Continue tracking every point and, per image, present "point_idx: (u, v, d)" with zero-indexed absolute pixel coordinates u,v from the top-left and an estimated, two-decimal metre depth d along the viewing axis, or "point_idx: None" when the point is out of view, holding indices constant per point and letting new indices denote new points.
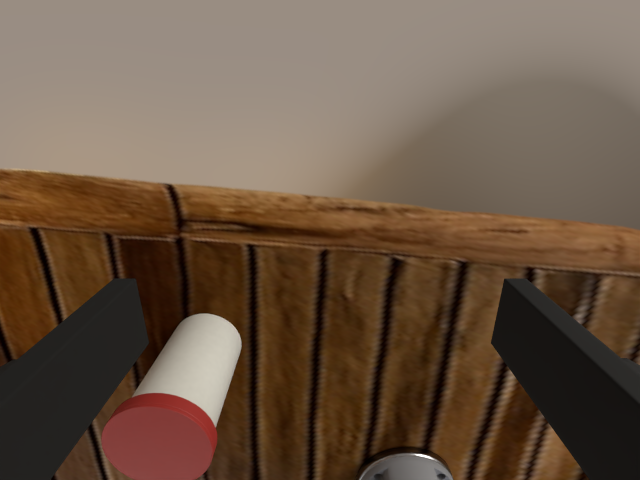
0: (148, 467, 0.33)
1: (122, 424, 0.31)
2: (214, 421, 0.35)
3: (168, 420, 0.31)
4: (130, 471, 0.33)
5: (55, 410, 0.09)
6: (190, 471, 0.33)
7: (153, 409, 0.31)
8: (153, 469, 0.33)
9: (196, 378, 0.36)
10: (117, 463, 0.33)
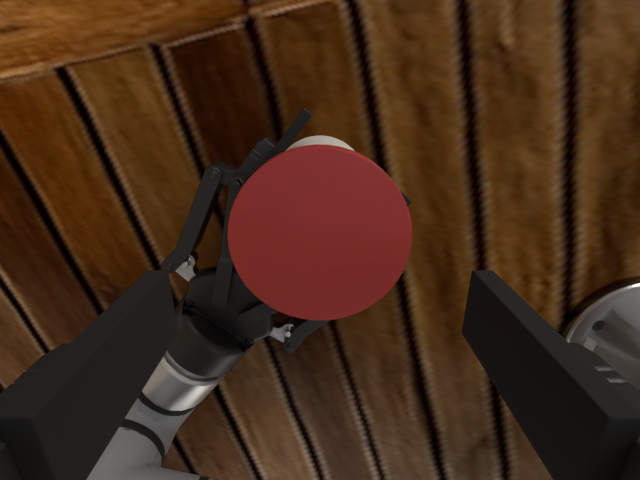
0: (311, 286, 0.20)
1: (256, 205, 0.19)
2: None
3: (329, 173, 0.18)
4: (284, 301, 0.21)
5: (106, 390, 0.09)
6: (379, 276, 0.20)
7: (301, 156, 0.18)
8: (319, 288, 0.20)
9: None
10: (262, 290, 0.20)
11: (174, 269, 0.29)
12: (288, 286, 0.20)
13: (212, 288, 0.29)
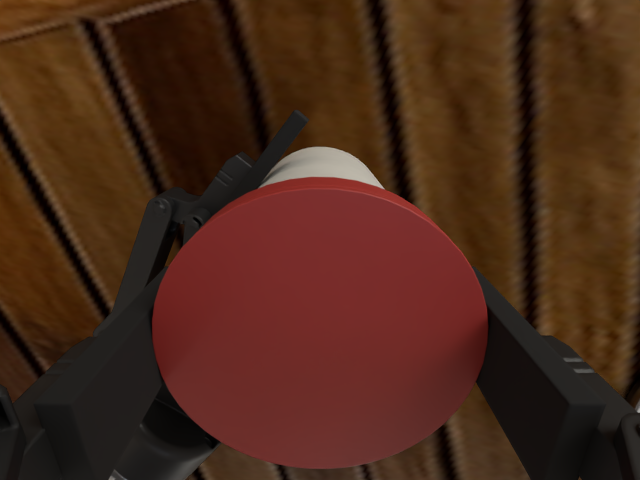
0: (305, 419, 0.12)
1: (201, 291, 0.10)
2: None
3: (338, 236, 0.09)
4: (259, 442, 0.12)
5: (132, 380, 0.09)
6: (424, 406, 0.11)
7: (283, 204, 0.09)
8: (319, 422, 0.12)
9: None
10: (219, 426, 0.12)
11: None
12: (265, 420, 0.12)
13: None
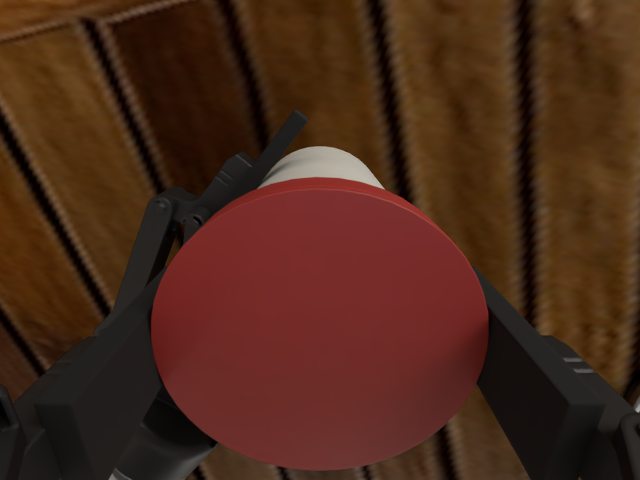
0: (407, 368, 0.11)
1: (254, 434, 0.12)
2: None
3: (193, 337, 0.10)
4: (433, 408, 0.11)
5: (132, 380, 0.09)
6: (402, 251, 0.09)
7: (171, 374, 0.11)
8: (414, 355, 0.11)
9: None
10: (406, 437, 0.12)
11: None
12: (403, 402, 0.11)
13: None
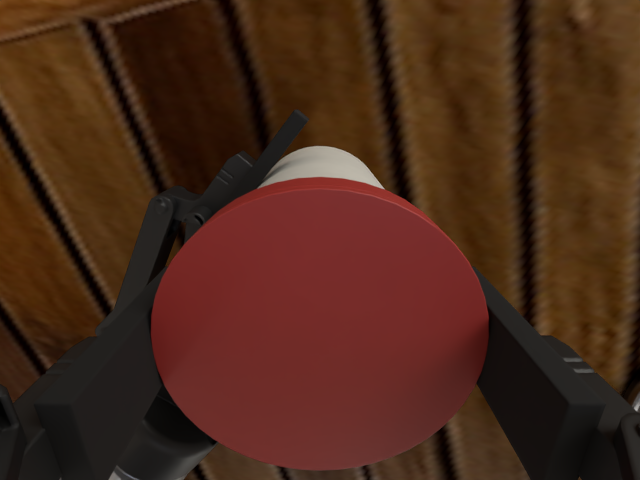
0: (343, 273, 0.10)
1: (419, 410, 0.11)
2: None
3: (299, 443, 0.12)
4: (405, 241, 0.09)
5: (132, 380, 0.09)
6: (202, 285, 0.10)
7: (339, 461, 0.12)
8: (325, 268, 0.10)
9: None
10: (447, 269, 0.10)
11: None
12: (390, 275, 0.10)
13: None
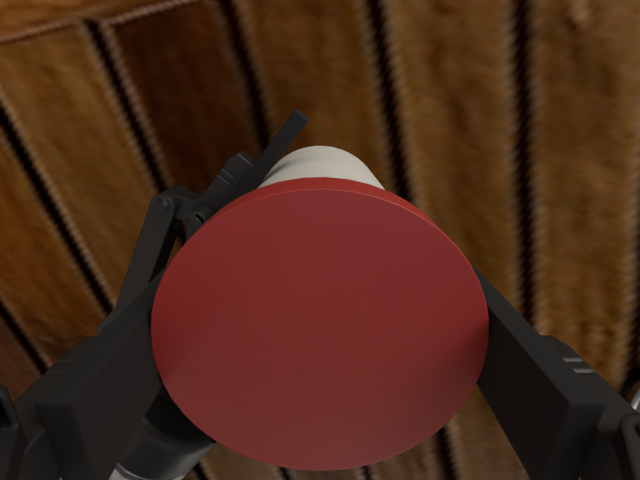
0: (229, 334, 0.10)
1: (406, 256, 0.09)
2: None
3: (439, 374, 0.11)
4: (191, 284, 0.10)
5: (132, 380, 0.09)
6: (248, 432, 0.12)
7: (476, 337, 0.10)
8: (224, 347, 0.11)
9: (353, 179, 0.14)
10: (217, 243, 0.09)
11: None
12: (227, 295, 0.10)
13: None
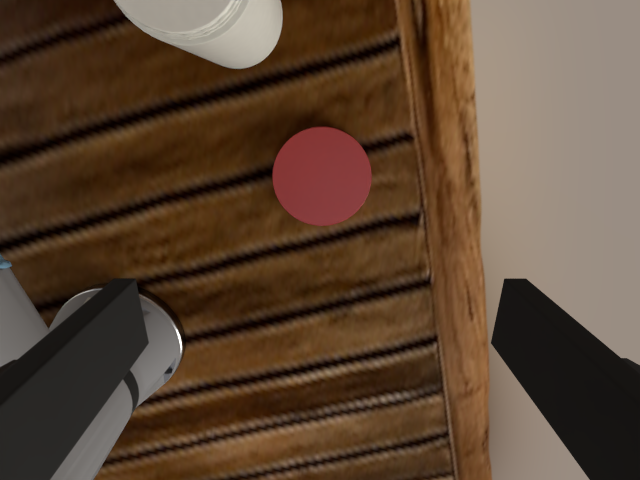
0: (347, 187, 0.36)
1: (298, 207, 0.37)
2: (216, 43, 0.22)
3: (285, 169, 0.36)
4: (354, 203, 0.37)
5: (55, 410, 0.09)
6: (347, 147, 0.35)
7: (276, 181, 0.36)
8: (349, 182, 0.36)
9: None
10: (345, 213, 0.37)
11: None
12: (345, 199, 0.37)
13: None
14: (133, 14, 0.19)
